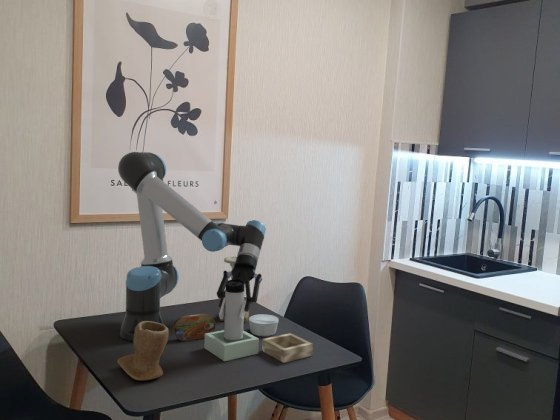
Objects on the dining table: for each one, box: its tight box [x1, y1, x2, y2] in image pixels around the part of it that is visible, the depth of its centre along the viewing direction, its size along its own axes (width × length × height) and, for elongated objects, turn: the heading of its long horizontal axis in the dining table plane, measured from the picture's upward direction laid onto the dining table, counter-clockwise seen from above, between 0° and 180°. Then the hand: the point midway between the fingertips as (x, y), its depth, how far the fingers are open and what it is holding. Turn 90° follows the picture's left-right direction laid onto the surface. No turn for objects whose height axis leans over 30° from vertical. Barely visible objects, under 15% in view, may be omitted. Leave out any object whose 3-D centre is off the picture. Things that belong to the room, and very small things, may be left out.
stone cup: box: [117, 321, 170, 381], centre depth 151 cm, size 15×12×15 cm
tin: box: [172, 313, 216, 342], centre depth 182 cm, size 15×3×8 cm, turn 117°
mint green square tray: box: [203, 329, 260, 362], centre depth 171 cm, size 13×13×5 cm
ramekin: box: [248, 313, 280, 337], centre depth 191 cm, size 11×11×5 cm
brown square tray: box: [261, 332, 314, 363], centre depth 172 cm, size 12×12×4 cm
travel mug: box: [223, 278, 246, 343], centre depth 170 cm, size 6×7×20 cm
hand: (230, 318), depth 167 cm, fingers closed on travel mug, 6 cm apart
